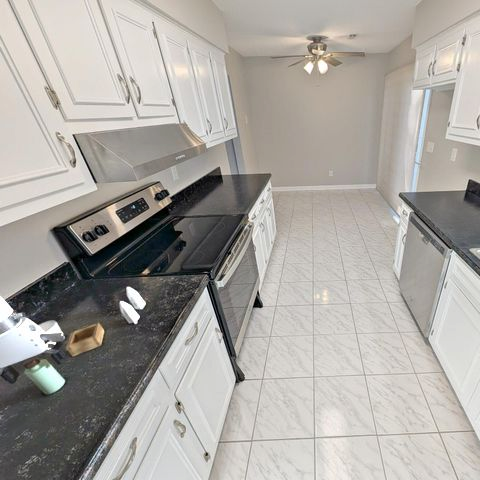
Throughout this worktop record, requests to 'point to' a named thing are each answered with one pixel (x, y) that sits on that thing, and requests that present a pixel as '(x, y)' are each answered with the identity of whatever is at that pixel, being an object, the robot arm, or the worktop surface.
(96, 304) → the worktop surface
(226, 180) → the worktop surface
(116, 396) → the worktop surface
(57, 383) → the bottle
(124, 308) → the shaker set
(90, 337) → the box
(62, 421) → the worktop surface
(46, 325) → the white cup
